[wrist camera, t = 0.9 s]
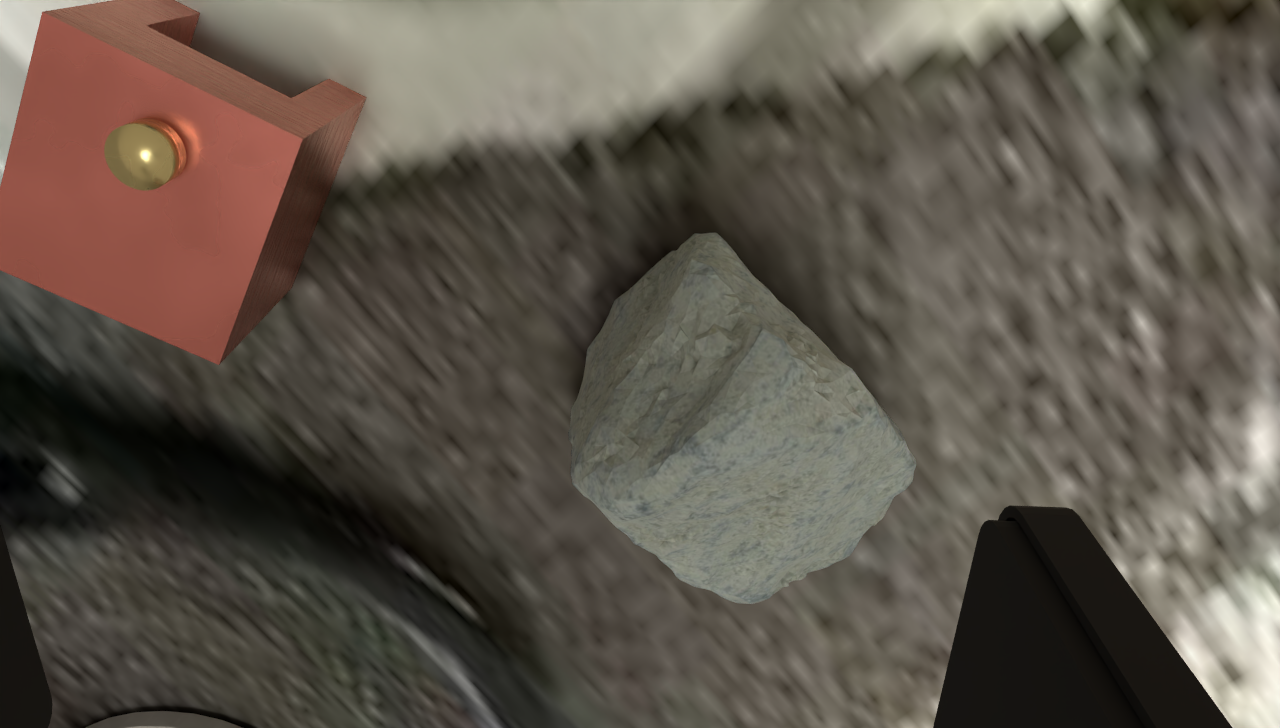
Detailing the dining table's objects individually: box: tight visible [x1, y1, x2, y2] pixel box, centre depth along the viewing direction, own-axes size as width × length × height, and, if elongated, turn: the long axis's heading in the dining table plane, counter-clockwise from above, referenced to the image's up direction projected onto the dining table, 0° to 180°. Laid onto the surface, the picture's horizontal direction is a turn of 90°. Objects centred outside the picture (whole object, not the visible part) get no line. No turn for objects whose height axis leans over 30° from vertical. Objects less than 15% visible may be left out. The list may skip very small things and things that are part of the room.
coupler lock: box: [0, 0, 366, 365], centre depth 27 cm, size 7×6×7 cm
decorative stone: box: [568, 233, 916, 604], centre depth 31 cm, size 13×11×10 cm
